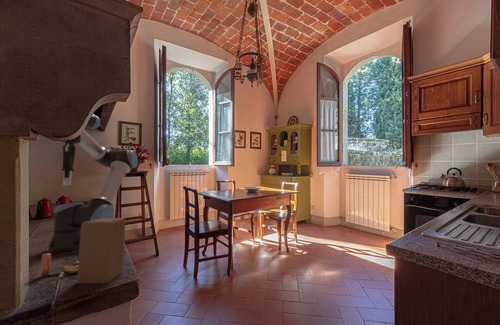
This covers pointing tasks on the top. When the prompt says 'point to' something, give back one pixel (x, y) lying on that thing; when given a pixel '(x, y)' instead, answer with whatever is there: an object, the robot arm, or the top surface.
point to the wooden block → (101, 250)
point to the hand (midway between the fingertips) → (66, 185)
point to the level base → (66, 274)
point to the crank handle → (46, 268)
